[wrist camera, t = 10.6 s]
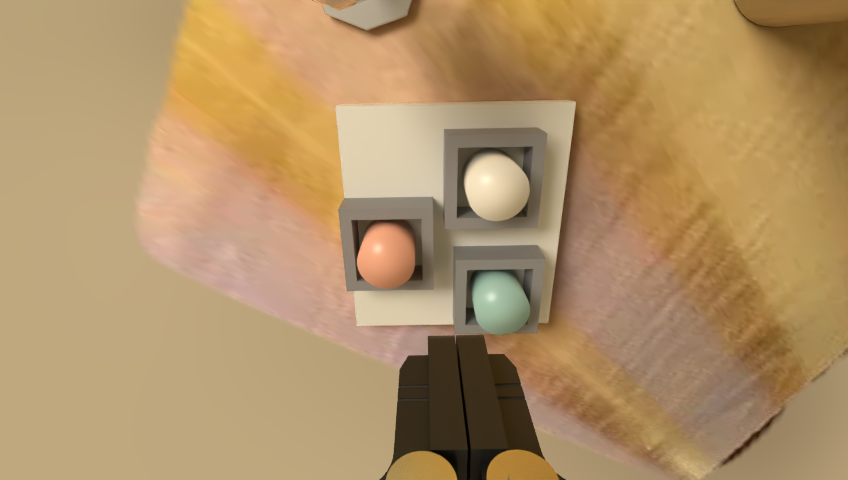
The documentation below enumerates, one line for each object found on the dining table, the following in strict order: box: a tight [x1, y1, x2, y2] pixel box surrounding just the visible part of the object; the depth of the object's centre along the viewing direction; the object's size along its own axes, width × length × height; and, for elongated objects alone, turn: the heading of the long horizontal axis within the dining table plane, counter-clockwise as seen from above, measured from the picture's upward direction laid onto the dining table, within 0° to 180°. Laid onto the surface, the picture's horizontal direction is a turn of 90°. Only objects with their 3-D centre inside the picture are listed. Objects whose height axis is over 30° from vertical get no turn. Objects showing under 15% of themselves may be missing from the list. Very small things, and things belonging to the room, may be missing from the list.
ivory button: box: [462, 148, 530, 221], centre depth 34 cm, size 5×5×5 cm
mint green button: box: [470, 269, 530, 335], centre depth 39 cm, size 5×5×5 cm
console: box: [335, 100, 576, 334], centre depth 38 cm, size 20×22×5 cm
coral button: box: [357, 219, 416, 289], centre depth 37 cm, size 5×5×5 cm
